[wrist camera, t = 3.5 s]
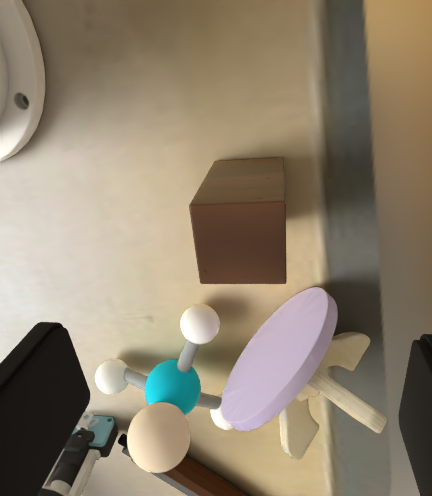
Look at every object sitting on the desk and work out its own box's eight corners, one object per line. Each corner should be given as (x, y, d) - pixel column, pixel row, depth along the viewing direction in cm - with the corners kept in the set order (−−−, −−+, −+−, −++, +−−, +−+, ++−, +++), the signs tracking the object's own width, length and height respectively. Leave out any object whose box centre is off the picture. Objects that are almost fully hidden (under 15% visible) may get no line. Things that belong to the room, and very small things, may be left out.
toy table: (315, 515, 19) (239, 462, 18) (259, 415, 28) (205, 373, 27) (433, 374, 20) (369, 311, 18) (341, 319, 28) (293, 272, 27)
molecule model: (166, 269, 25) (118, 364, 18) (301, 354, 27) (310, 474, 20) (99, 363, 31) (40, 466, 23) (214, 428, 33) (194, 543, 25)
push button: (64, 435, 37) (-2, 552, 29) (48, 399, 35) (-29, 516, 26) (125, 441, 36) (76, 564, 27) (113, 404, 34) (55, 527, 25)
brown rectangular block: (214, 160, 21) (188, 205, 15) (283, 156, 21) (285, 201, 15) (220, 223, 23) (199, 284, 17) (284, 221, 23) (286, 284, 16)
